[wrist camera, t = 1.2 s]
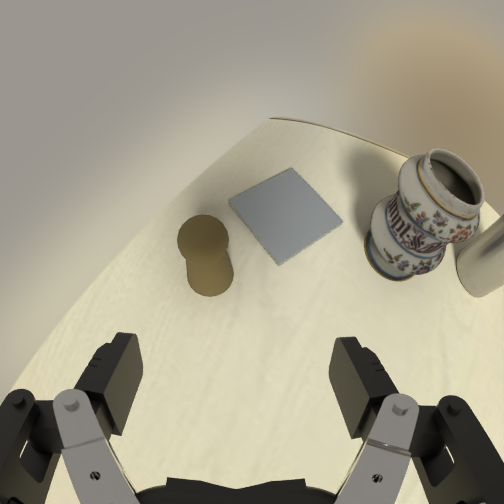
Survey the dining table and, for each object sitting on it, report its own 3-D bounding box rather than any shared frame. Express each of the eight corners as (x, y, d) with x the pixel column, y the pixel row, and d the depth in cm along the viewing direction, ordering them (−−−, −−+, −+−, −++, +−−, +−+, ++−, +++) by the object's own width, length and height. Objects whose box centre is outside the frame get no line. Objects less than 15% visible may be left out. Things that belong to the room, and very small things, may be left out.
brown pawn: (178, 270, 38) (159, 226, 28) (215, 245, 40) (208, 195, 30) (205, 305, 36) (192, 272, 26) (243, 278, 38) (245, 235, 28)
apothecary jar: (415, 220, 44) (473, 148, 27) (430, 288, 38) (509, 229, 22) (351, 214, 43) (399, 126, 27) (361, 288, 38) (434, 217, 22)
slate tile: (291, 171, 46) (292, 167, 46) (341, 224, 42) (343, 221, 41) (228, 203, 43) (228, 200, 42) (278, 266, 39) (279, 263, 38)
